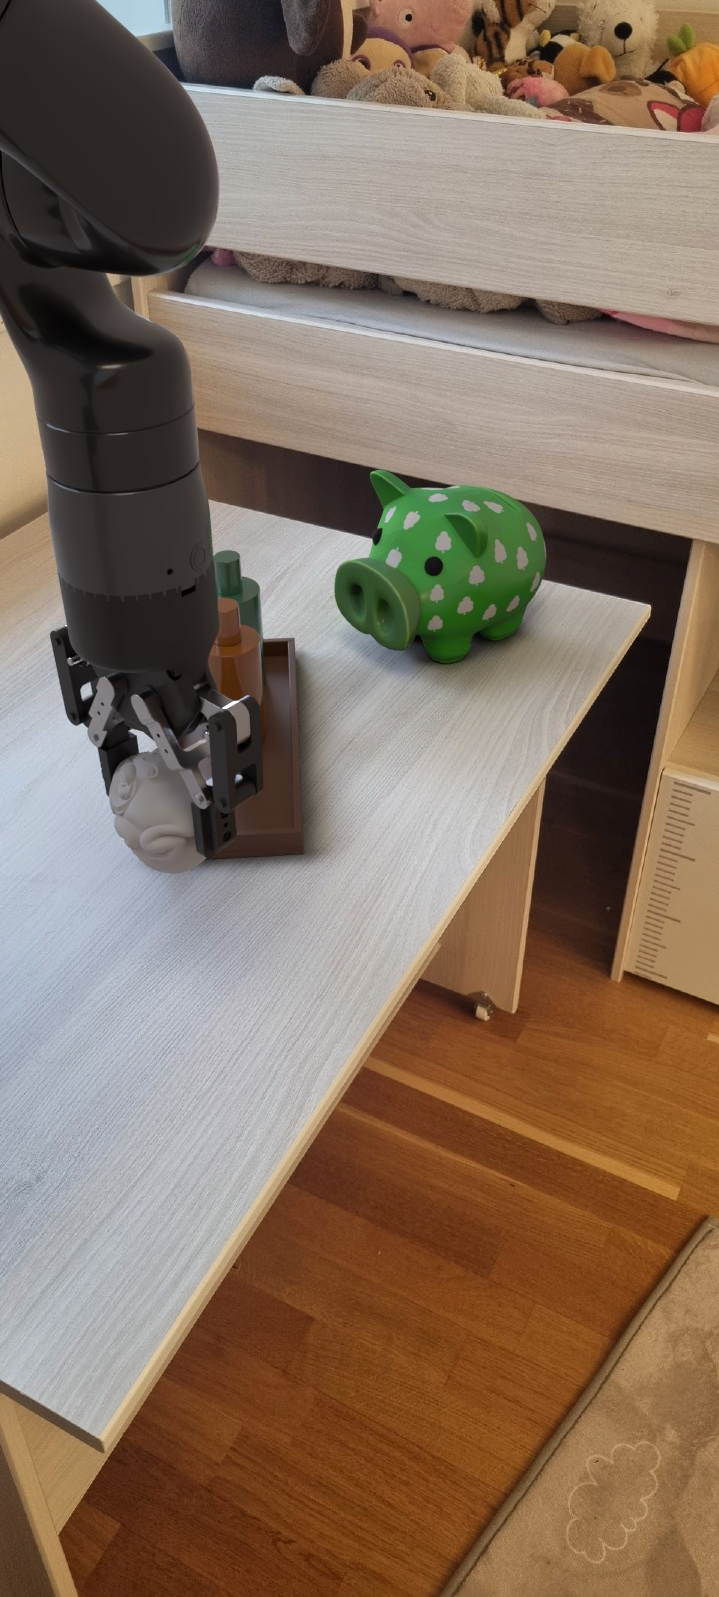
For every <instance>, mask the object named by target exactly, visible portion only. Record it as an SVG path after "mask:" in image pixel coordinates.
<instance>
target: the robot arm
mask: <svg viewBox="0 0 719 1597" xmlns="http://www.w3.org/2000/svg"><path fill="white" fill-rule="evenodd" d="M195 104H196V103H195V102H194V101H193V99H192V98H191V96H190V95H189V93H188V92H187V90H186V88H185V87H184V85H182V84H181V82H180V81H179V80H178V79H177V77H176V76H175V75H174V73H173V72H172V71H171V70H170V69H169V68H168V67H167V66H166V64H165V63H163V61H161V60H160V58H159V57H158V56H157V55H156V54H155V53H154V52H153V51H152V50H151V49H149V47H147V46H146V44H144V43H143V42H142V41H141V40H140V39H139V38H138V37H137V36H136V35H134V34H133V33H132V32H131V31H130V30H129V29H128V28H127V27H126V26H125V25H124V24H123V23H121V22H120V21H119V20H118V18H116V17H115V16H114V15H113V14H112V13H111V12H110V11H108V10H107V9H106V8H105V7H104V6H103V5H102V4H101V3H100V2H98V0H0V318H1V320H2V323H3V325H4V328H5V330H6V332H7V334H8V337H9V339H10V341H11V343H12V345H13V348H14V349H15V351H16V353H17V355H18V357H19V359H20V361H21V364H22V365H23V368H24V370H25V372H26V374H27V378H28V379H29V382H30V386H31V389H32V391H31V392H32V396H33V404H34V411H35V416H36V422H37V429H38V433H39V440H40V445H41V451H42V457H43V463H44V467H45V476H46V487H47V488H46V490H47V491H46V492H47V516H48V524H49V531H50V536H51V542H52V543H51V544H52V548H53V554H54V559H55V560H54V561H55V565H56V571H57V576H58V583H59V588H60V594H61V600H62V605H63V606H62V607H63V611H64V617H65V623H66V624H64V625H62V626H60V627H57V628H56V629H53V630H51V631H50V633H49V639H50V644H51V648H52V652H53V658H54V662H55V668H56V672H57V676H58V677H57V678H58V682H59V687H60V691H61V696H62V701H63V705H64V710H65V716H66V718H67V720H68V721H69V722H70V723H71V724H72V725H73V726H75V727H78V726H80V725H82V724H83V725H84V727H86V728H87V731H86V732H87V737H88V739H89V741H90V742H91V744H92V745H93V746H94V747H96V748H97V753H98V759H99V763H100V770H101V777H102V779H103V782H104V789H105V795H106V796H107V797H108V798H109V790H110V786H111V782H112V779H113V775H114V773H115V771H116V768H117V767H118V765H119V764H120V763H121V762H122V761H123V760H125V759H126V758H128V757H130V756H134V755H136V754H138V753H140V748H139V742H138V736H137V734H135V733H133V732H131V730H134V731H139V732H142V733H144V734H145V735H146V736H147V737H148V738H150V739H151V740H152V741H153V742H154V743H155V746H156V748H158V749H159V751H160V753H161V755H162V757H163V759H164V761H165V763H166V765H167V767H168V768H169V769H170V770H171V771H177V772H179V773H180V775H181V777H182V779H183V781H184V783H185V785H186V787H187V789H188V791H189V793H190V795H191V797H192V799H193V802H191V809H192V818H193V826H194V835H195V844H196V851H197V852H198V853H199V854H201V855H203V856H204V857H206V858H212V857H213V856H215V855H216V854H218V853H219V852H221V851H222V850H224V849H225V848H227V847H228V846H229V845H230V844H231V843H233V842H234V841H235V840H236V837H237V830H236V822H235V821H236V818H235V808H236V807H237V806H239V805H240V804H242V803H243V802H245V801H247V800H248V799H250V798H251V797H253V796H256V795H257V794H259V793H260V792H262V791H263V788H264V786H263V758H262V731H261V709H260V706H259V704H258V702H257V701H256V699H255V698H253V697H252V696H249V695H247V696H245V697H243V698H242V699H240V700H238V701H233V700H232V699H230V698H228V697H226V696H224V695H222V694H221V693H219V692H218V691H217V686H216V683H215V680H214V678H213V676H212V674H211V671H210V668H209V664H208V658H209V655H210V652H211V649H212V647H213V645H214V642H215V640H216V638H217V636H218V633H219V627H220V623H219V611H218V599H217V588H216V576H215V565H214V554H215V553H214V543H213V533H212V532H213V530H212V521H211V520H212V518H211V510H210V503H209V502H210V501H209V496H208V492H207V488H206V484H205V480H204V476H203V470H202V463H201V458H200V446H199V434H198V426H197V413H196V412H197V411H196V402H195V401H196V400H195V389H194V381H193V380H194V379H193V372H192V367H191V362H190V357H189V354H188V350H187V349H186V347H185V345H184V343H183V342H182V340H181V339H180V338H179V337H178V336H177V335H176V334H175V333H174V332H172V331H171V330H170V329H168V328H166V327H165V326H163V325H161V324H159V323H157V322H155V321H152V320H151V319H149V318H146V317H145V316H143V315H141V314H139V313H137V312H136V311H135V310H132V309H131V308H130V307H128V306H127V305H126V304H125V303H124V302H123V301H122V300H121V299H120V298H119V297H118V295H117V294H116V291H115V290H114V287H113V285H112V283H111V281H110V278H109V276H108V275H109V274H110V275H116V276H123V277H130V278H152V277H153V278H154V277H160V276H165V275H168V274H171V273H174V272H176V271H178V270H180V269H182V268H183V267H185V266H186V265H187V264H189V262H191V261H192V260H193V259H194V258H196V256H198V254H199V253H200V252H201V251H202V250H203V248H204V247H205V246H206V243H207V242H208V240H209V238H210V237H211V234H212V231H213V229H214V227H215V224H216V220H217V218H218V211H219V204H220V172H219V165H218V160H217V156H216V152H215V149H214V146H213V142H212V139H211V136H210V133H209V131H208V128H207V125H206V123H205V121H204V119H203V116H202V115H201V113H200V111H199V109H198V108H197V106H196V105H195ZM89 683H90V690H91V694H89V695H87V696H85V697H82V691H81V690H82V687H84V686H85V685H88V684H89ZM199 724H200V726H201V728H202V731H203V736H202V738H201V740H200V741H198V742H196V743H195V744H193V745H191V746H190V747H188V748H186V749H184V750H183V749H182V748H181V747H180V746H179V744H178V740H180V739H182V738H184V737H185V736H187V735H189V734H190V733H192V732H194V731H195V730H196V729H197V727H198V726H199ZM206 757H208V759H209V761H210V763H211V769H212V777H211V778H210V779H208V780H206V781H205V780H204V778H203V776H202V773H201V771H200V769H199V767H198V764H199V762H200V761H201V760H202V759H204V758H206ZM240 771H241V775H237V773H239V772H240Z"/></svg>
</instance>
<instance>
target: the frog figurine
mask: <svg viewBox="0 0 719 1597" xmlns="http://www.w3.org/2000/svg"><path fill="white" fill-rule="evenodd" d="M202 776H203V778H204V780H205V781H206V780H208V779H207V778H206V777H205V776H204V775H203V774H202ZM108 799H109V805H110V809H111V813H112V814H113V815H114V816H115V817H114V825H113V826H114V830H115V832H116V833H117V835H118V836H119V837H120V838H121V839H123V841H124V844H125V845H126V846H127V848H129V849H130V851H131V853H132V854H133V855H135V856H136V857H137V858H138V859H139V861H140V862H142V863H143V864H144V865H145V866H146V867H148V868H149V869H151V870H154V871H156V872H158V873H163V874H181V873H185V872H186V873H187V872H188V871H191V870H193V869H195V868H196V867H198V866H199V865H200V864H202V863H203V862H204V861H205V860H207V859H206V857H204V856H203V855H201V854H199V853H198V852H197V851H196V844H195V835H194V826H193V818H192V809H191V802H193V799H192V797H191V795H190V793H189V791H188V789H187V787H186V785H185V783H184V781H183V779H182V777H181V775H180V773H179V772H177V771H171V770H170V769H169V768H168V767H167V765H166V763H165V761H164V759H163V757H162V755H161V753H160V751H159V749H158V747H156V748H154V749H153V750H152V751H149V750H148V751H142V752H139V753H138V754H136V755H134V756H130V757H128V758H126V759H125V760H123V761H122V762H121V763H120V764H119V765H118V767H117V768H116V771H115V773H114V775H113V779H112V782H111V786H110V790H109V797H108Z"/></svg>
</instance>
